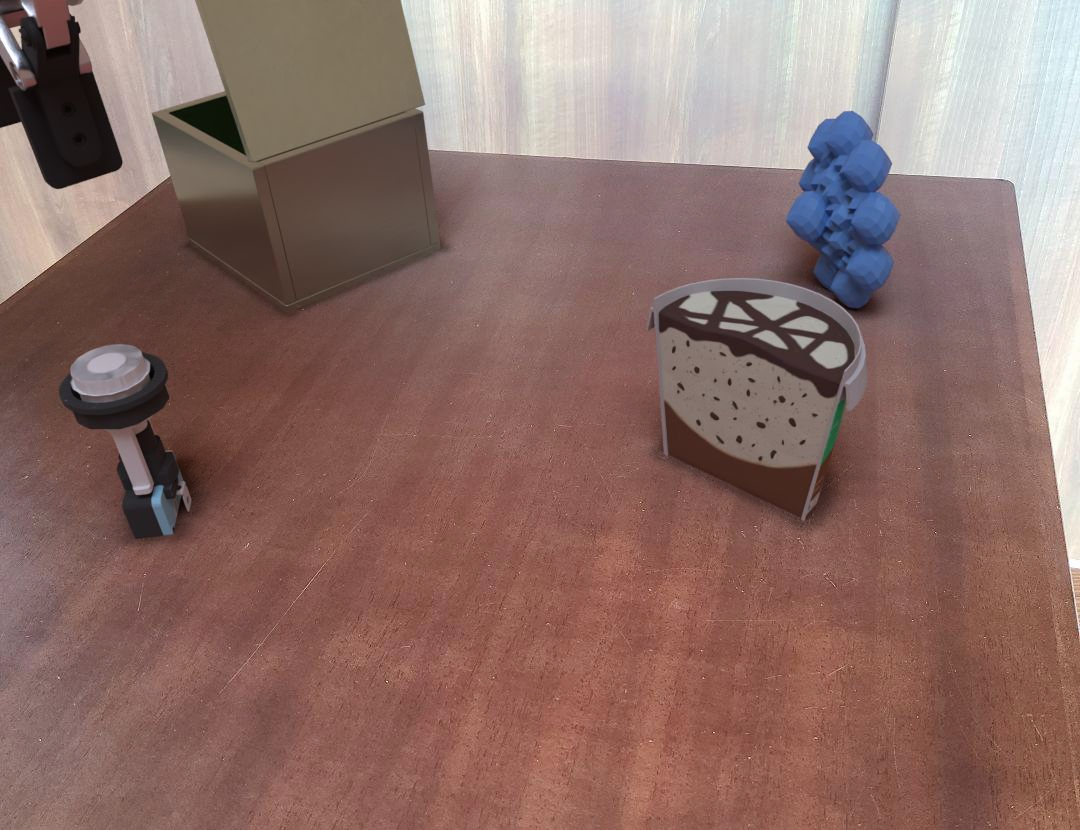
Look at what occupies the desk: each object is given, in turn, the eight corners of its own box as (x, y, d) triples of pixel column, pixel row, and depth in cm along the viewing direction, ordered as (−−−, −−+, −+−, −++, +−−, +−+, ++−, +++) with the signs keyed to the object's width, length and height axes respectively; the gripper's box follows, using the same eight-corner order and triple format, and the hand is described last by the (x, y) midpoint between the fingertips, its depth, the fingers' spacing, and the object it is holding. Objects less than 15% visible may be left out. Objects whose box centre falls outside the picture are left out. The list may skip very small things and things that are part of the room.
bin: (192, 248, 84) (150, 112, 77) (336, 195, 91) (310, 65, 83) (288, 316, 75) (252, 169, 68) (442, 252, 81) (423, 111, 74)
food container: (887, 480, 57) (921, 320, 51) (828, 537, 54) (856, 374, 48) (706, 401, 64) (715, 251, 57) (643, 448, 61) (645, 295, 54)
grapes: (747, 263, 77) (761, 97, 69) (833, 250, 78) (856, 84, 70) (809, 341, 68) (832, 162, 60) (905, 325, 69) (940, 147, 61)
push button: (130, 476, 62) (69, 328, 55) (220, 465, 62) (171, 317, 55) (109, 550, 57) (40, 398, 50) (207, 538, 57) (151, 385, 50)
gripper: (51, -379, 31) (208, 174, 43) (-104, -353, 42) (55, 86, 53) (-218, -361, 28) (30, 234, 39) (-315, -338, 38) (-96, 128, 50)
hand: (44, 149), depth 46 cm, fingers open, 9 cm apart
